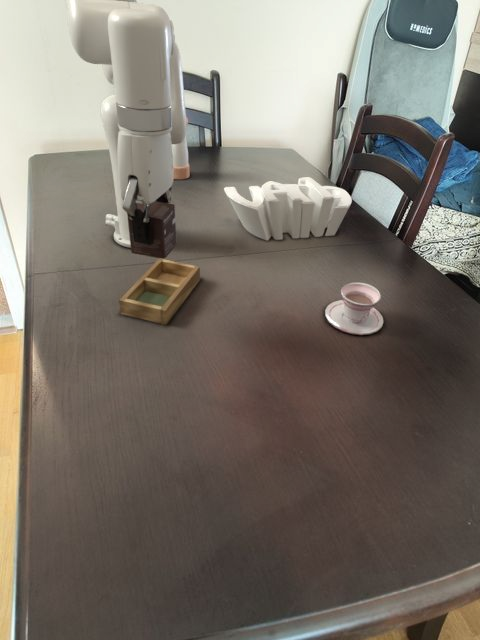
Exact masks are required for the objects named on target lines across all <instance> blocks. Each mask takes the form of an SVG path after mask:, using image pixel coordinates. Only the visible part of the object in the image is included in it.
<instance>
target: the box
mask: <svg viewBox="0 0 480 640" xmlns="http://www.w3.org/2000/svg"><path fill="white" fill-rule="evenodd" d="M143 201H144V200H143ZM175 208H176V204H175V203H162V202H156V201H154V202H152V203H151V208H150V217H149V220H150V221H152V230H153V244H152V245H147V244H143V243H138V242H135V241H134V238H133V228H132V220H130V216H129V215H128V214H127V216H128V226H129V236H130V244H131V248H130V252H131V254H134V255H139V256H144V257H152V258H157V259H159V258H161V259H165V260H166V258H167V257H168V256H169V254H171V252H172V251H173V250H174V248H175V247H176V245H177V225H176V209H175ZM137 209H140V210H141V211H142V212H144V205H141V204H137Z"/></svg>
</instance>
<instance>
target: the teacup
mask: <svg viewBox="0 0 480 640" xmlns="http://www.w3.org/2000/svg"><path fill="white" fill-rule="evenodd" d="M340 295H341V298H342V299H339V300H336V301H333V302H331V303H329V304H328V305H327V306H326V308H325V310H324V314H325V315H324V317H325V318H326V320H327V322H328V323H329V324H330V325H331V326H333V327H334V328H336V329H338V331H341V332H344V333H347V334H351V335H358V336H364V335H365V336H367V335H371V334H375V333H378V331H380V330H381V329H382V327H383V324H384V317H383V315H382V314H381V312H380V311H379V310H377V309H376V308H375V306H377V305H378V304H379V302H380V301H381V296H382V295H381V292H380V291H379V290H378V288H377V287H375V286H373V285H371V284H368V283H365V282H359V281H358V282H356V281H355V282H349V283H346V284H345V285H343V287H342V288H341V290H340Z"/></svg>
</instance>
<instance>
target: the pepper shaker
mask: <svg viewBox="0 0 480 640" xmlns="http://www.w3.org/2000/svg"><path fill="white" fill-rule="evenodd" d="M188 124H189V118H188V117H187V116H186V127H188ZM172 154H173V170H174V176H173V180H185V179H189V178H190V177H191V176H190V171H191V170H190V169H191V168H190V163H189V149H188V143H187V135H186V136H185V138H184V140H183V141H182V142H181V143H178V144H172Z"/></svg>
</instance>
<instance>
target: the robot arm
mask: <svg viewBox="0 0 480 640" xmlns="http://www.w3.org/2000/svg"><path fill="white" fill-rule="evenodd" d="M65 8H66V16H67V17H66V18H67V25H68V33H69V36H70V42H71V44H72V47H73V49H74V52H75V53H76V54H77V56H79V58H80V59H81V60H83V61H84V62H86V63H89V64H93V65H101V67H102V71H103V74H104V77H105V79H106V81H108V83H109V84H111V85H113V88H114V94H112V95H108V96H107V97H105V98H104V99H103V100H102V103H101V104H100V119H101V123H102V127H103V131H104V134H105V138H106V142H107V147H108V151H109V157H110V158H109V159H110V164H111V171H112V172H111V173H112V178H113V186H114V193H115V194H114V196H115V205H116V213H117V215H115V214H111V213H107V214H106V215H105V222H104V224H105V226H108V227H113V228H114V229H115V230H114V231H113V239H114V241H115V242H116V243H117V244H118V245H119V246H122V247H125V248H129V249H131V244H130V236H129V226H128V216H127V214H128V215H129V216H130V220H132V228H133V238H134V241H135V242H138V243H143V244H147V245H152V244H153V230H152V221H150V220H149V217H150V208H151V203H152V202H154V201H156V202H162V203H169V204H171V203H172V196H171V191H172V187H173V184H174V179H173V176H174V170H173V154H172V144H178V143H181V142H182V141H183V140H184V138H185V136H186V137H187V126H186V117H187V111H186V102H185V100H186V99H185V90H184V88H185V87H184V75H183V65H182V58H181V53H180V49H179V47H178V45H177V42H176V37H175V27H174V24H173V21H172V19H170V17H169V15H168V12H166V10H165V9H164V8H163V7H161V6H160V5H157V4H153V3H147V2H146V3H145V2H138V1H137V0H65ZM143 200H144V201H143ZM137 204H141V205H144V212H142V211H141V210H140V209H137Z"/></svg>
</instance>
